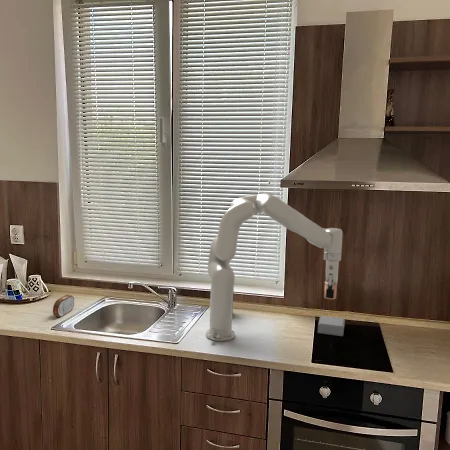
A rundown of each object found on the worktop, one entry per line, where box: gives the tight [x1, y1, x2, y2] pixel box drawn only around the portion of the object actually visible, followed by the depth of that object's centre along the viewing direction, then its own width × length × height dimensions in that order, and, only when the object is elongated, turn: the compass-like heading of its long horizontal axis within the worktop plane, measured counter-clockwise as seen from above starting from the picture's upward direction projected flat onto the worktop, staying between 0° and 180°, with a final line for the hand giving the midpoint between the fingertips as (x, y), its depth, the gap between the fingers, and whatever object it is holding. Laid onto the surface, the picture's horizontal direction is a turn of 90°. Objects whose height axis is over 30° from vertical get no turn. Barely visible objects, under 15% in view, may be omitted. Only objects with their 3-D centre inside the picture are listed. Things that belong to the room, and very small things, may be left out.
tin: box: [52, 294, 75, 318], centre depth 214 cm, size 15×3×8 cm, turn 168°
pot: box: [323, 280, 338, 300], centre depth 202 cm, size 6×6×7 cm
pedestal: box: [317, 315, 346, 337], centre depth 204 cm, size 11×11×4 cm
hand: (330, 295), depth 202 cm, fingers closed on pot, 5 cm apart
